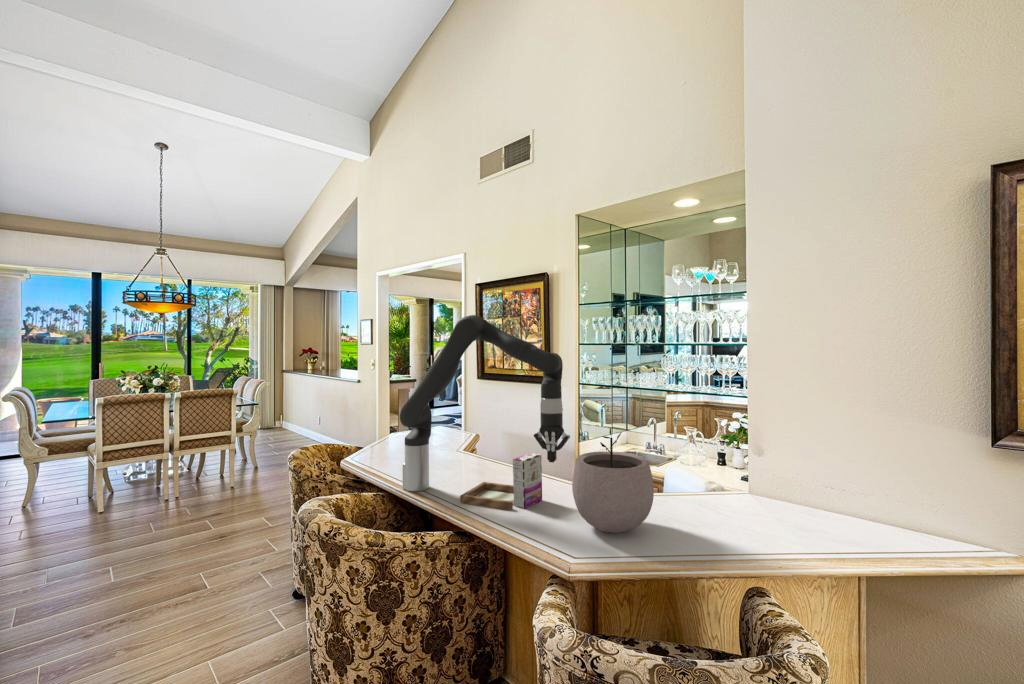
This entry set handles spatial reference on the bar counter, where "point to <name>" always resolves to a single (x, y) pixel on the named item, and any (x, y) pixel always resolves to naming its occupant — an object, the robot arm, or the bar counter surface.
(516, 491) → the candy bar box
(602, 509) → the plant pot
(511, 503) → the keeper frame
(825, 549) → the bar counter surface
